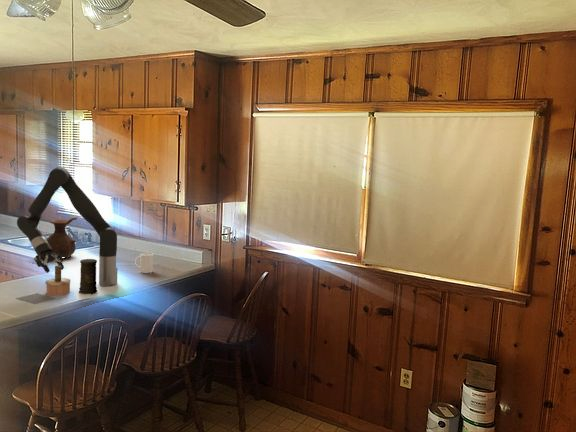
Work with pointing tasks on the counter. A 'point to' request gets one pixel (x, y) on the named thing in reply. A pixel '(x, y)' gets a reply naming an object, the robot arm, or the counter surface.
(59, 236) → the brown vase
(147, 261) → the mug
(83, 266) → the container
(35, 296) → the mat
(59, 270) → the lid
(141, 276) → the counter surface
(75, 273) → the counter surface
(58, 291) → the bowl
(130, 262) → the counter surface
